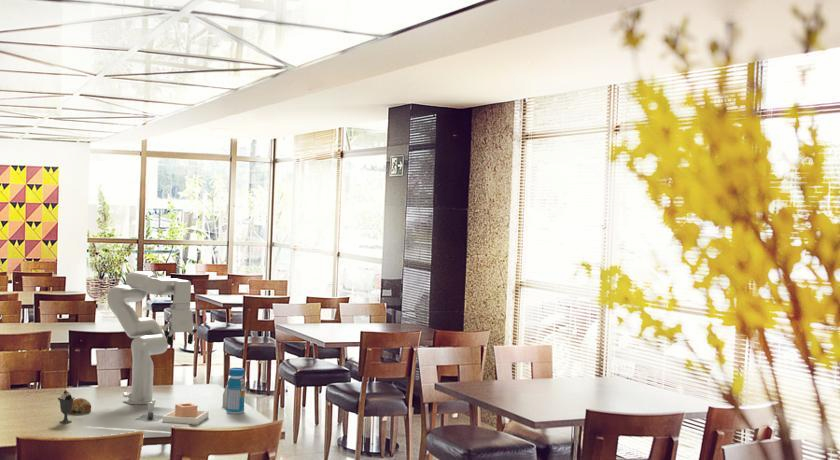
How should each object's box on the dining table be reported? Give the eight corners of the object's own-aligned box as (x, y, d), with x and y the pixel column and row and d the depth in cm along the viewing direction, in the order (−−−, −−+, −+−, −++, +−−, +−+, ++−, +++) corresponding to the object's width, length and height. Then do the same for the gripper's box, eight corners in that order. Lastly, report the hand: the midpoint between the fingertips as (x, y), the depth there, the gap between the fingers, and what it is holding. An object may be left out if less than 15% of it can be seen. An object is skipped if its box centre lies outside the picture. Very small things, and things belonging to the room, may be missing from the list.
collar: (181, 421, 350) (182, 407, 350) (174, 418, 356) (175, 404, 356) (196, 419, 355) (197, 405, 355) (190, 416, 360) (190, 402, 360)
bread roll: (92, 420, 364) (98, 402, 367) (78, 414, 355) (84, 396, 358) (74, 417, 367) (80, 400, 370) (59, 411, 358) (66, 394, 362)
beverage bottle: (228, 414, 370) (230, 370, 370) (223, 410, 378) (225, 367, 378) (246, 413, 374) (248, 369, 374) (241, 409, 381) (243, 366, 382)
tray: (162, 423, 348) (162, 416, 348) (175, 415, 363) (175, 409, 363) (196, 425, 347) (196, 418, 347) (208, 417, 362) (208, 411, 362)
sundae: (59, 420, 346) (61, 384, 346) (76, 420, 347) (77, 385, 347) (54, 424, 339) (55, 387, 340) (70, 424, 340) (72, 388, 340)
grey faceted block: (233, 409, 382) (234, 387, 382) (222, 407, 385) (223, 385, 385) (238, 407, 385) (239, 386, 385) (227, 405, 388) (228, 384, 388)
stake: (134, 421, 350) (135, 404, 350) (144, 416, 360) (144, 399, 360) (156, 422, 349) (157, 405, 349) (166, 417, 359) (166, 401, 359)
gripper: (166, 308, 366) (165, 346, 366) (202, 307, 377) (201, 344, 377) (160, 306, 372) (158, 344, 371) (195, 305, 383) (194, 342, 383)
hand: (179, 344), depth 374 cm, fingers open, 9 cm apart
